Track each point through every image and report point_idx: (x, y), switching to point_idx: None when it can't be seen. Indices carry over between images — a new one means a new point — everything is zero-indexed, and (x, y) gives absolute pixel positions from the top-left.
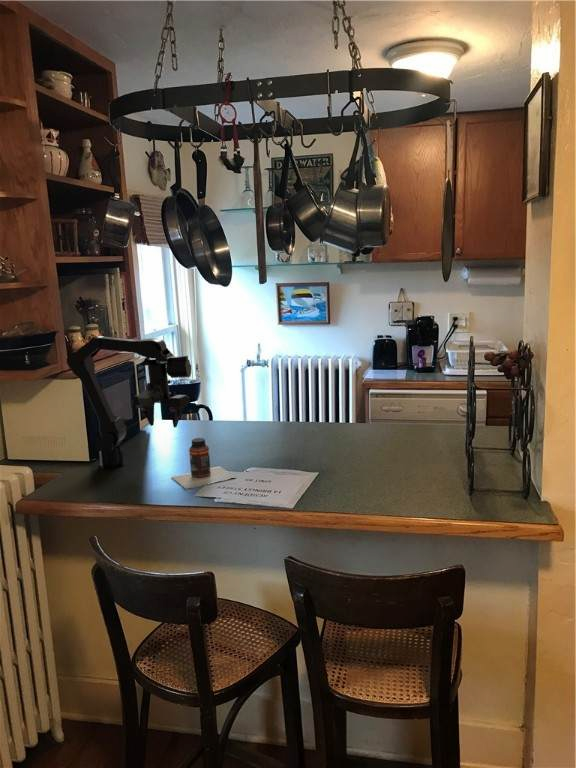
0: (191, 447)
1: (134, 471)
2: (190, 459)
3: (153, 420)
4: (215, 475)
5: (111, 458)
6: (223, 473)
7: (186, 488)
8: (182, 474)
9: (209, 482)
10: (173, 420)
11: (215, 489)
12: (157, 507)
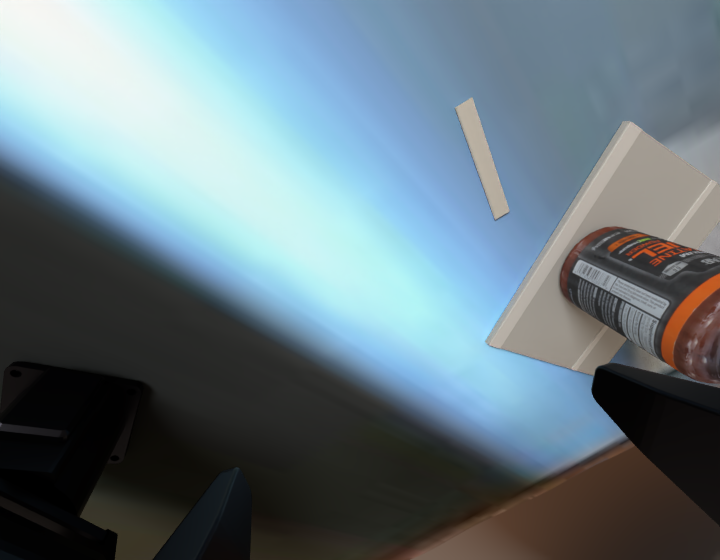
0: (718, 379)
1: (272, 385)
2: (639, 346)
3: (222, 529)
4: (651, 233)
5: (103, 468)
6: (678, 195)
7: None
8: (517, 305)
9: None
10: (705, 491)
11: None
12: (578, 472)
